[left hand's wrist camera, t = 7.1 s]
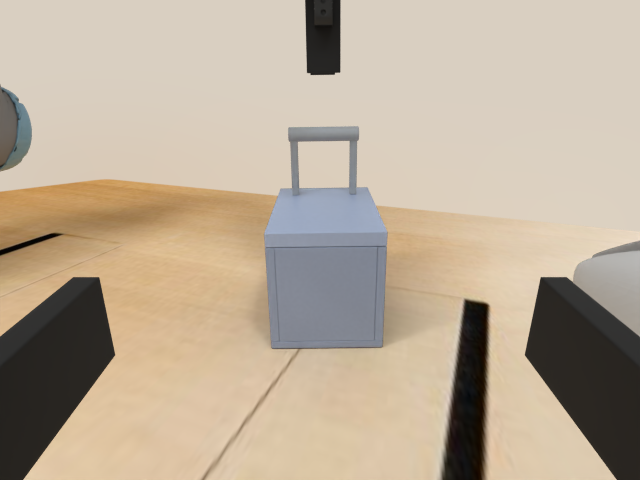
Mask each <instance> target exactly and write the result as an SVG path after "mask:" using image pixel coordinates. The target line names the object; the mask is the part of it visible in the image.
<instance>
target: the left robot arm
mask: <svg viewBox="0 0 640 480" xmlns="http://www.w3.org/2000/svg"><path fill="white" fill-rule="evenodd" d="M114 356H115V352H114V347H113V342H112V337H111V333H110V328H109V323H108V318H107V313H106V308H105V303H104V298H103V294H102V289H101V284H100V279H99V277H73V278H72V279H71V280H69V281H68V282H67V283H66V284H65V285H63V286H62V287H61V288H60V289H58V290H57V291H56V292H55V293H53V294H52V295H51V296H50V297H49V298H47V299H46V300H45V301H44V302H42V303H41V304H40V305H39V306H37V307H36V308H35V309H34V310H32V311H31V312H30V313H29V314H28V315H26V316H25V317H24V318H23V319H21V320H20V321H19V322H18V323H16V324H15V325H14V326H13V327H11V328H10V329H9V330H8V331H7V332H5V333H4V334H3V335H2V336H0V480H23V479H24V478H25V476H26V475H27V474H28V472H29V471H30V470H31V468H32V467H33V466H34V464H35V463H36V462H37V460H38V459H39V457H40V456H41V455H42V453H43V452H44V451H45V449H46V448H47V447H48V445H49V444H50V443H51V441H52V440H53V439H54V437H55V436H56V434H57V433H58V432H59V430H60V429H61V428H62V426H63V425H64V424H65V422H66V421H67V420H68V418H69V417H70V415H71V414H72V413H73V411H74V410H75V409H76V407H77V406H78V405H79V403H80V402H81V401H82V399H83V398H84V397H85V395H86V394H87V392H88V391H89V390H90V388H91V387H92V386H93V384H94V383H95V382H96V380H97V379H98V378H99V376H100V375H101V374H102V372H103V371H104V369H105V368H106V367H107V365H108V364H109V363H110V361H111V360H112V359H113V357H114ZM525 356H526V357H527V359H528V360H529V361H530V363H531V364H532V365H533V367H534V368H535V369H536V371H537V372H538V374H539V375H540V376H541V378H542V379H543V380H544V382H545V383H546V384H547V386H548V387H549V388H550V390H551V391H552V392H553V394H554V395H555V397H556V398H557V399H558V401H559V402H560V403H561V405H562V406H563V407H564V409H565V410H566V411H567V413H568V414H569V415H570V417H571V418H572V420H573V421H574V422H575V424H576V425H577V426H578V428H579V429H580V430H581V432H582V433H583V434H584V436H585V437H586V439H587V440H588V441H589V443H590V444H591V445H592V447H593V448H594V449H595V451H596V452H597V453H598V455H599V456H600V457H601V459H602V460H603V462H604V463H605V464H606V466H607V467H608V468H609V470H610V471H611V472H612V474H613V475H614V476H615V478H616V479H617V480H640V336H638V335H637V334H636V333H635V332H633V331H632V330H631V329H630V328H629V327H627V326H626V325H625V324H624V323H622V322H621V321H620V320H619V319H617V318H616V317H615V316H614V315H612V314H611V313H610V312H609V311H608V310H606V309H605V308H604V307H603V306H601V305H600V304H599V303H598V302H596V301H595V300H594V299H593V298H591V297H590V296H589V295H588V294H587V293H585V292H584V291H583V290H582V289H580V288H579V287H578V286H577V285H575V284H574V283H573V282H572V281H571V280H569V279H568V278H567V277H541V279H540V284H539V289H538V294H537V298H536V303H535V308H534V313H533V318H532V323H531V328H530V332H529V337H528V342H527V347H526V352H525Z"/></svg>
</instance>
